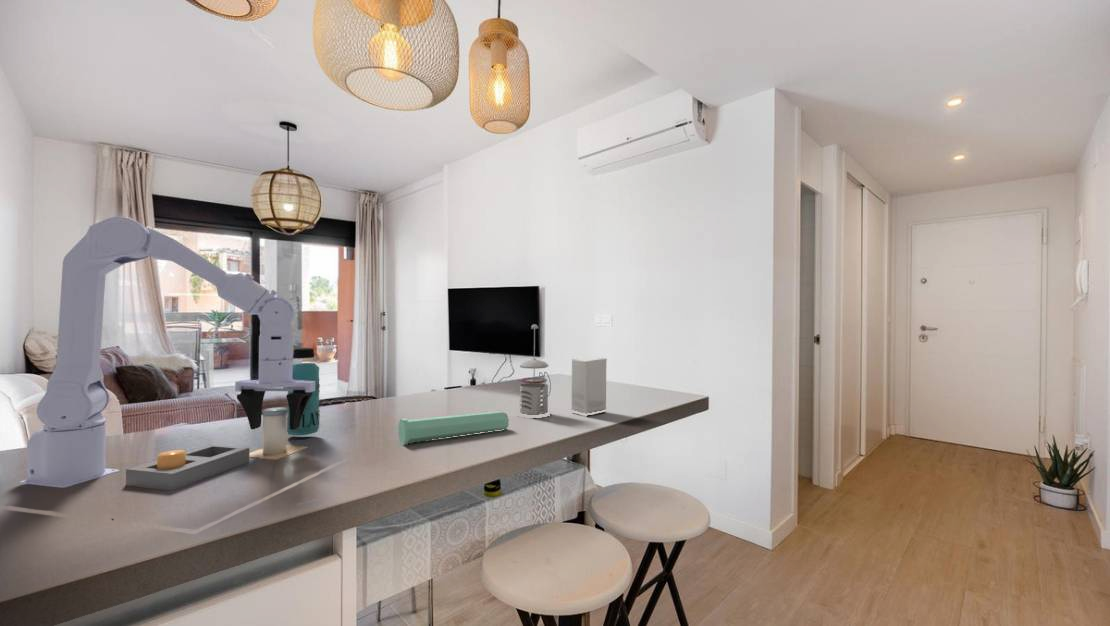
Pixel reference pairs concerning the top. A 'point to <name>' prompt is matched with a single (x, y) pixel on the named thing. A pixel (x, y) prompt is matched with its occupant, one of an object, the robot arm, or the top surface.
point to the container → (450, 426)
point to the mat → (288, 451)
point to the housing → (188, 467)
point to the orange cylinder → (171, 459)
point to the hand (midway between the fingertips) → (275, 428)
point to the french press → (534, 387)
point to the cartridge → (274, 430)
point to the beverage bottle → (311, 410)
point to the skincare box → (588, 384)
